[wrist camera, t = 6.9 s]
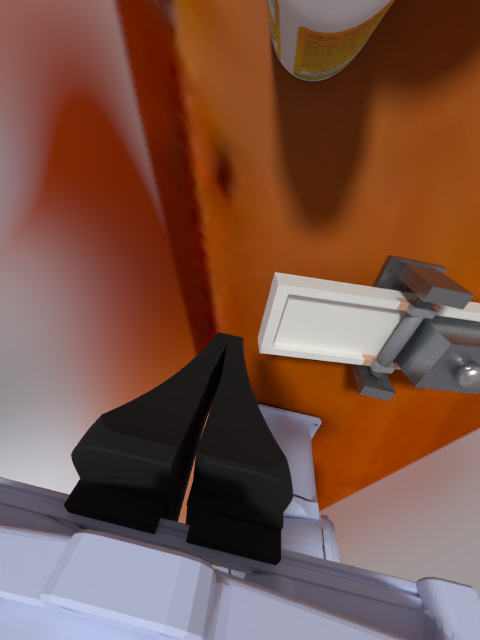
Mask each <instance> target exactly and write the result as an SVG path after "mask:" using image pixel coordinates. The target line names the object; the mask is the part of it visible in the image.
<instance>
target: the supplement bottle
mask: <svg viewBox="0 0 480 640" xmlns="http://www.w3.org/2000/svg"><path fill="white" fill-rule="evenodd" d="M394 1H395V0H267V9H268V20H269V28H270V34H271V39H272V43H273V46H274V49H275V52H276V54H277V57H278V58H279V60H280V62H281V63H282V65H283V66H284V68H285V69H286V70H287V71H288V72H289V73H291V74H292V75H293V76H295V77H297V78H299V79H302V80H305V81H320V80H324V79H327V78H330V77H332V76H334V75H335V74H337V73H338V72H340V71H341V70H342V69H344V68H345V67H346V66H347V65H348V64H349V63H350V62H351V61H352V60H353V59H354V58H355V56H356V55H357V54H358V53H359V52H360V50H361V49H362V48H363V46H364V45H365V43H366V42H367V40H368V39H369V37H370V36H371V34H372V33H373V31H374V30H375V28H376V27H377V25H378V24H379V22H380V21H381V20H382V18H383V17H384V15H385V14H386V12H387V11H388V10H389V8H390V7H391V5H392V4H393V3H394Z"/></svg>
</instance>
